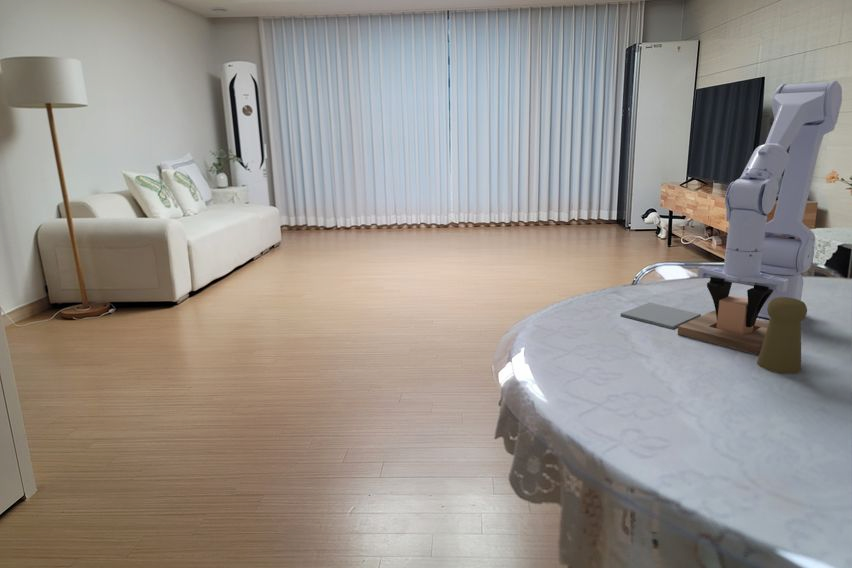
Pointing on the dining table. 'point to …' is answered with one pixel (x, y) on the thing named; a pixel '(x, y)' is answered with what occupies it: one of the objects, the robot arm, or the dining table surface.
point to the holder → (724, 333)
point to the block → (733, 315)
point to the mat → (661, 315)
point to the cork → (783, 336)
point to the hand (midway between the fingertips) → (735, 322)
